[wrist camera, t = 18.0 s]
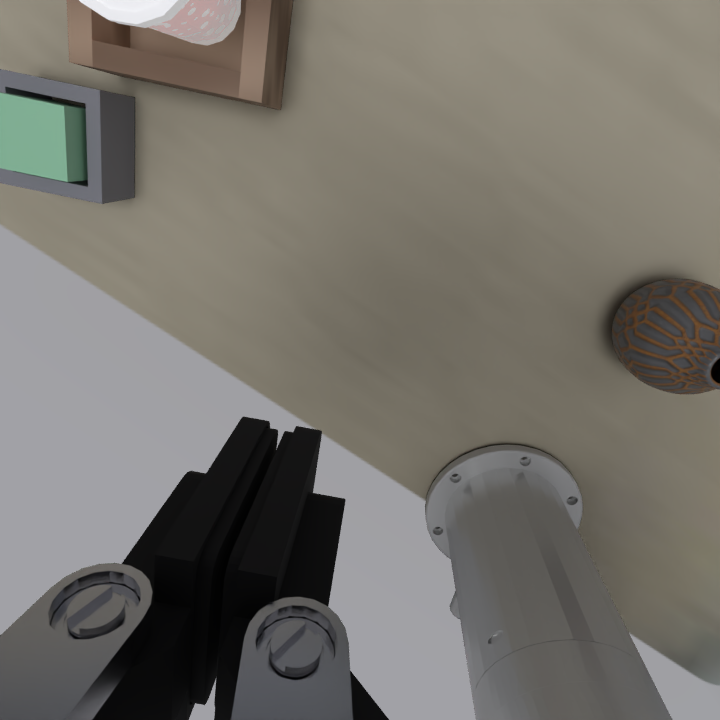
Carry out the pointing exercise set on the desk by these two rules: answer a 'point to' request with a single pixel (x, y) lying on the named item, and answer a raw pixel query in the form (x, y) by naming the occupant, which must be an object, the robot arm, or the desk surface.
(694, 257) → the desk surface
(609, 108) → the desk surface
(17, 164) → the button
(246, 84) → the open wooden cube shelf
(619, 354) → the vase
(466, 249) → the desk surface
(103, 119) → the button housing
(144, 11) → the beverage cup
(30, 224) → the desk surface
